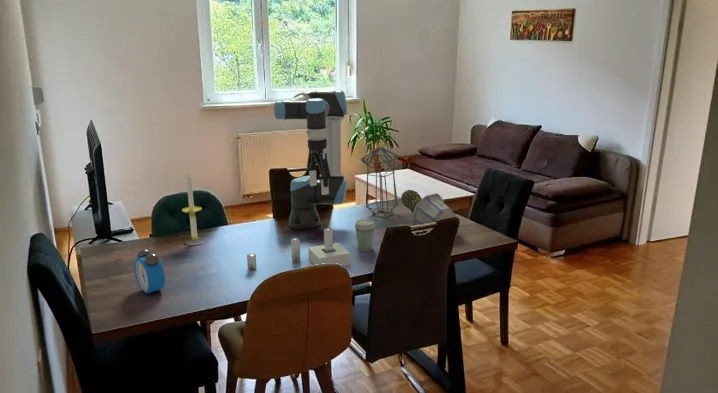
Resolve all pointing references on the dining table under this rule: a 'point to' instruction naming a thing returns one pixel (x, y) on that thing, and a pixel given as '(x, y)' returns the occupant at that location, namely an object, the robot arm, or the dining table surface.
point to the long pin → (328, 240)
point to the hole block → (329, 255)
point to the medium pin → (295, 250)
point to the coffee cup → (365, 234)
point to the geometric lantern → (381, 178)
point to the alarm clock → (149, 271)
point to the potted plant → (426, 207)
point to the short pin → (251, 262)
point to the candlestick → (191, 208)
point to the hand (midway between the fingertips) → (319, 189)
